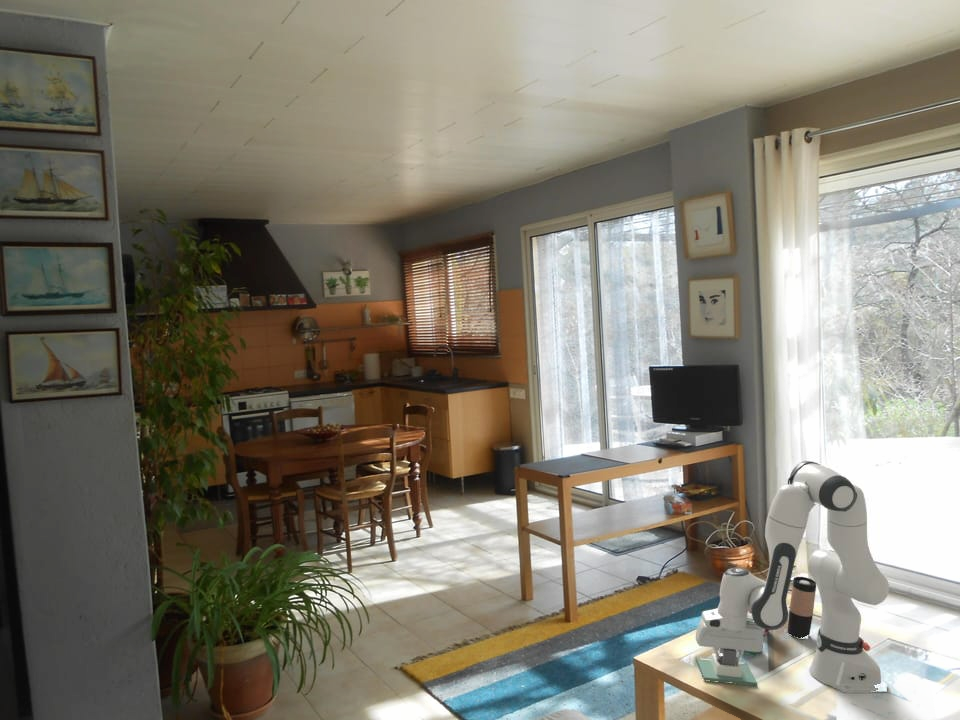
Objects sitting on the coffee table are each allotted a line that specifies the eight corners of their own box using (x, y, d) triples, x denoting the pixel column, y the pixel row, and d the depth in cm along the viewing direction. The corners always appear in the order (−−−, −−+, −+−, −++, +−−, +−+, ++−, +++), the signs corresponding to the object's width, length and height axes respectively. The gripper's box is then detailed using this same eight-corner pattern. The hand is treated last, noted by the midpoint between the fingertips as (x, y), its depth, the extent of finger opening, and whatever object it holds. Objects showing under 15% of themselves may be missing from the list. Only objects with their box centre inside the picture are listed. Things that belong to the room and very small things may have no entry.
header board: (746, 665, 240) (747, 653, 239) (756, 686, 228) (758, 673, 228) (695, 660, 241) (697, 648, 241) (703, 680, 229) (705, 668, 229)
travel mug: (781, 630, 266) (788, 577, 264) (799, 628, 269) (806, 575, 266) (796, 640, 259) (803, 586, 256) (814, 638, 261) (821, 584, 259)
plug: (730, 666, 236) (733, 642, 235) (734, 672, 232) (737, 649, 231) (718, 664, 236) (720, 641, 235) (721, 671, 232) (723, 647, 231)
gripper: (762, 617, 235) (757, 658, 236) (696, 611, 236) (692, 652, 238) (768, 627, 228) (763, 669, 230) (701, 620, 230) (696, 662, 231)
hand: (726, 660), depth 234 cm, fingers closed on plug, 4 cm apart
